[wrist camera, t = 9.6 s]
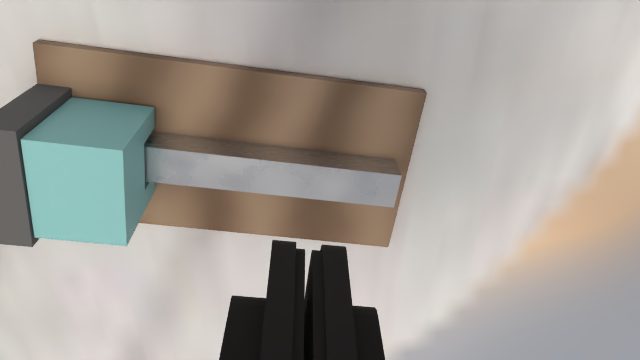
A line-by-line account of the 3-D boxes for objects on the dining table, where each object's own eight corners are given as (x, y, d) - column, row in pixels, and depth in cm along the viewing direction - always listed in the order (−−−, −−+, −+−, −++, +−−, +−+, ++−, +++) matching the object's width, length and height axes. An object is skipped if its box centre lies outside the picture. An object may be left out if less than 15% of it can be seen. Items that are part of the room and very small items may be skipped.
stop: (71, 87, 31) (15, 131, 25) (80, 186, 34) (32, 246, 28) (37, 83, 31) (-28, 126, 25) (49, 183, 34) (-5, 243, 28)
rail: (395, 159, 34) (401, 175, 32) (388, 189, 36) (393, 207, 33) (74, 122, 32) (58, 137, 30) (77, 156, 33) (62, 172, 31)
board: (424, 89, 33) (426, 93, 32) (386, 240, 39) (388, 247, 38) (38, 39, 31) (32, 42, 30) (57, 208, 36) (53, 214, 35)
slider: (154, 107, 32) (122, 150, 26) (155, 190, 34) (126, 246, 29) (71, 97, 31) (20, 139, 26) (79, 182, 34) (34, 237, 28)
